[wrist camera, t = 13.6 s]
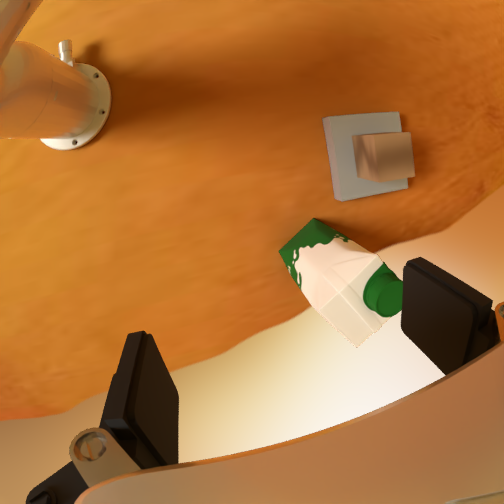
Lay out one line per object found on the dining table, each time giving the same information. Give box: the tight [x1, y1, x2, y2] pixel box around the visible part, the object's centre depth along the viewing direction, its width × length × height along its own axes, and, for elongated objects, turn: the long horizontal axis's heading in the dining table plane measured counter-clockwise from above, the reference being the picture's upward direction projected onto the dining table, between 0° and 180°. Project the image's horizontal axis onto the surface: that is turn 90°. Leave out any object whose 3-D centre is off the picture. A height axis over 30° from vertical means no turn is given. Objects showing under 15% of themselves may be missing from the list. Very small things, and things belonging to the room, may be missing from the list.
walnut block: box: [352, 132, 415, 183], centre depth 38 cm, size 6×6×6 cm
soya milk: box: [279, 218, 403, 348], centre depth 37 cm, size 9×9×20 cm
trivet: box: [322, 112, 408, 201], centre depth 41 cm, size 12×12×2 cm
